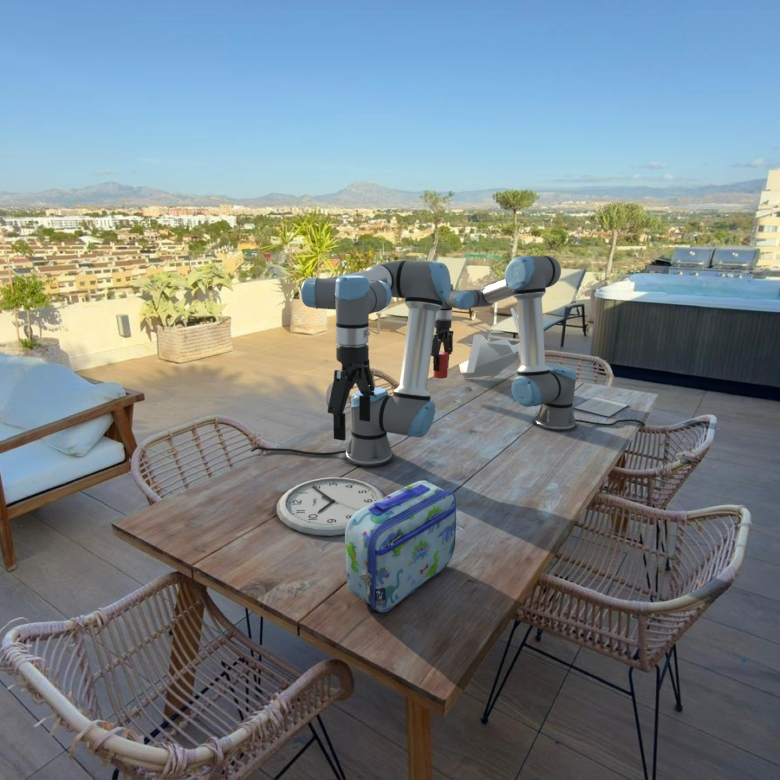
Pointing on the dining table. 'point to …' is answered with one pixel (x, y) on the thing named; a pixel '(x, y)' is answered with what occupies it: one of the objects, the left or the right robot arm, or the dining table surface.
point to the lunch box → (399, 543)
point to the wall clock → (325, 504)
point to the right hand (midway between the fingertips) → (440, 369)
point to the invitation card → (601, 406)
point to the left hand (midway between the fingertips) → (352, 429)
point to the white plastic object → (490, 355)
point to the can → (442, 365)
